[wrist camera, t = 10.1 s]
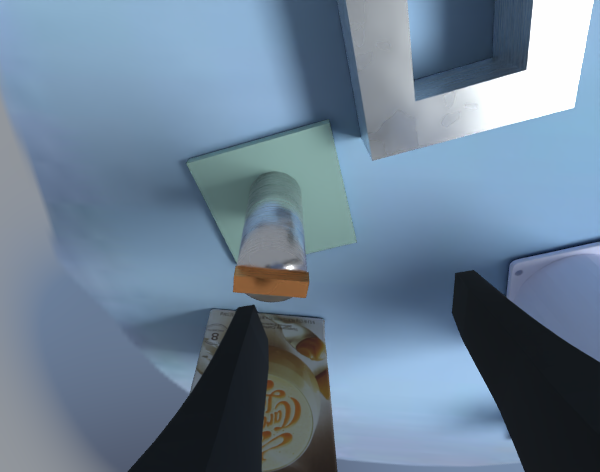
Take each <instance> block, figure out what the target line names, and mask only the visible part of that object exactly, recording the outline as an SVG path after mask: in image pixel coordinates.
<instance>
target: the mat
mask: <svg viewBox="0 0 600 472" xmlns="http://www.w3.org/2000/svg"><path fill="white" fill-rule="evenodd" d="M186 164H187V166H188V168H189V170H190V172H191V174H192V176H193V178H194V180H195V182H196V184H197V186H198V188H199V190H200V192H201V194H202V196H203V198H204V200H205V202H206V203H207V205H208V207H209V209H210V211H211V213H212V215H213V217H214V219H215V221H216V223H217V225H218V227H219V229H220V231H221V233H222V235H223V237H224V239H225V241H226V243H227V245H228V247H229V249H230V251H231V253H232V255H233V257H234V259H235V261H236V263H237V261H238V256H239V250H240V244H241V239H242V233H243V227H244V221H245V216H246V210H247V204H248V199H249V193H250V188H251V185H252V183H253V182H254V181H255V179H256V178H258V177H259V176H260V175H262V174H264V173H267V172H274V171H276V172H283V173H286V174H288V175H290V176H291V177H293V178H294V179H295V180H296V181H297V183H298V184H299V186H300V189H301V195H302V209H303V223H304V237H305V251H306V254H309V253H313V252H318V251H322V250H326V249H330V248H335V247H339V246H343V245H347V244H352V243H356V242H357V241H356V236H355V232H354V228H353V223H352V219H351V214H350V210H349V206H348V201H347V197H346V192H345V188H344V184H343V179H342V175H341V170H340V166H339V162H338V157H337V153H336V148H335V144H334V140H333V135H332V131H331V126H330V122H329V119H328V120H324V121H321V122H317V123H314V124H310V125H307V126H303V127H300V128H296V129H293V130H289V131H286V132H282V133H279V134H275V135H272V136H268V137H265V138H261V139H258V140H254V141H251V142H247V143H243V144H240V145H236V146H233V147H229V148H226V149H222V150H219V151H215V152H212V153H208V154H205V155H201V156H198V157H194V158H191V159H189V160H188V161H187V163H186Z"/></svg>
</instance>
